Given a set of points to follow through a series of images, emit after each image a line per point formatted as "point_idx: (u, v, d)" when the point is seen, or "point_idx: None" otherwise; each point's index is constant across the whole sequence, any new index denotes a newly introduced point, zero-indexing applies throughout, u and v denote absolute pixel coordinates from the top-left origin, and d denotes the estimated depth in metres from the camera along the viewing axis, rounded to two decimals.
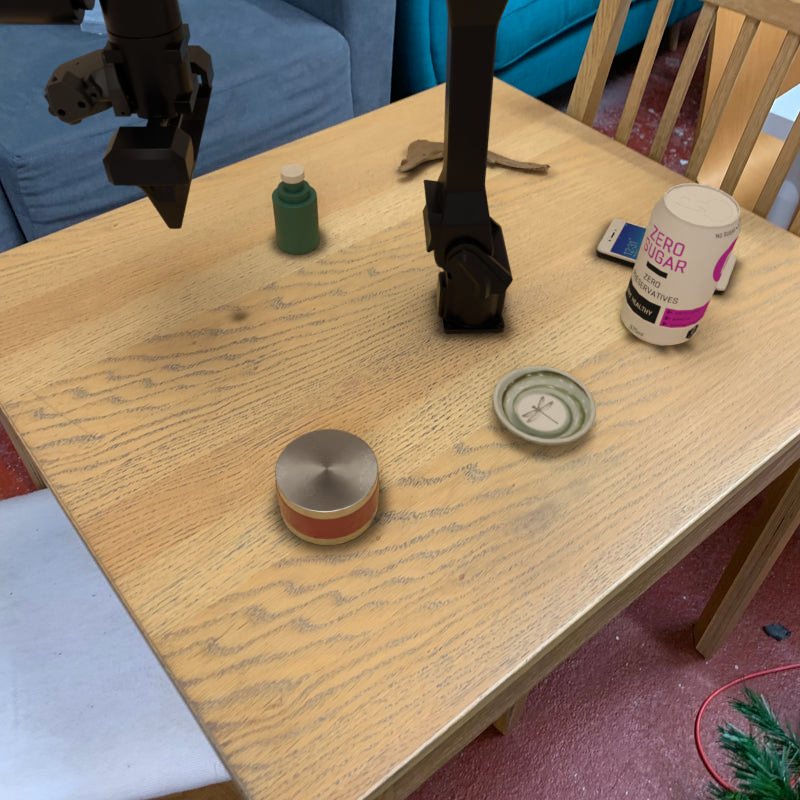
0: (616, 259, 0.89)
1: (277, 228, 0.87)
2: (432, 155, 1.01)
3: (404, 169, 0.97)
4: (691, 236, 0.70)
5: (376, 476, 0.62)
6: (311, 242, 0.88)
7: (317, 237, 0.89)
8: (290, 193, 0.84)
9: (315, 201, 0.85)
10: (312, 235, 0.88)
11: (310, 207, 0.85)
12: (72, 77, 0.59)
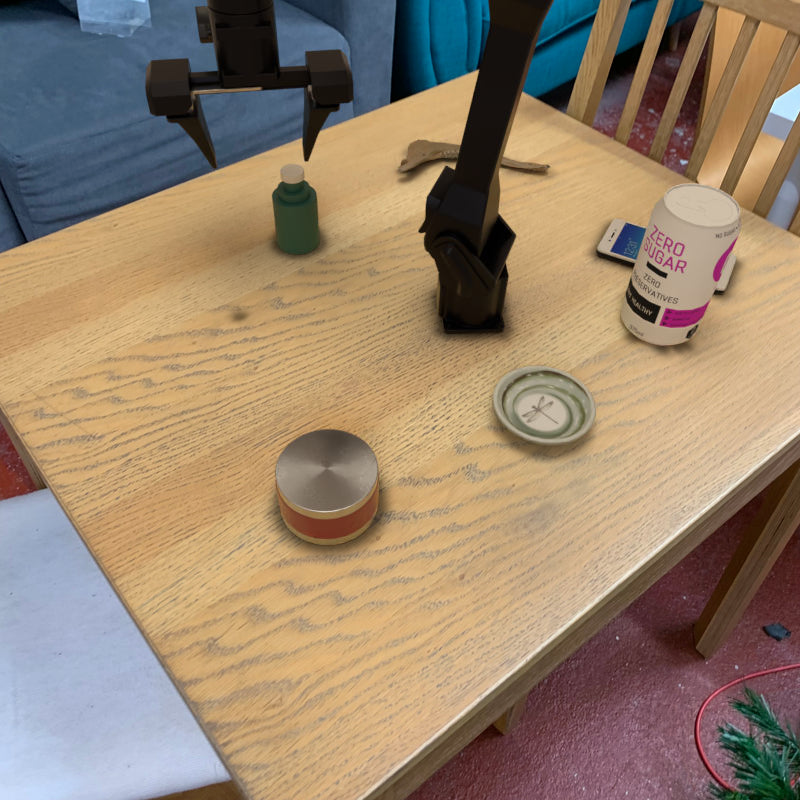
0: (616, 259, 0.89)
1: (277, 228, 0.87)
2: (432, 155, 1.01)
3: (404, 169, 0.97)
4: (691, 236, 0.70)
5: (376, 476, 0.62)
6: (311, 242, 0.88)
7: (317, 237, 0.89)
8: (290, 193, 0.84)
9: (315, 201, 0.85)
10: (312, 235, 0.88)
11: (310, 207, 0.85)
12: None
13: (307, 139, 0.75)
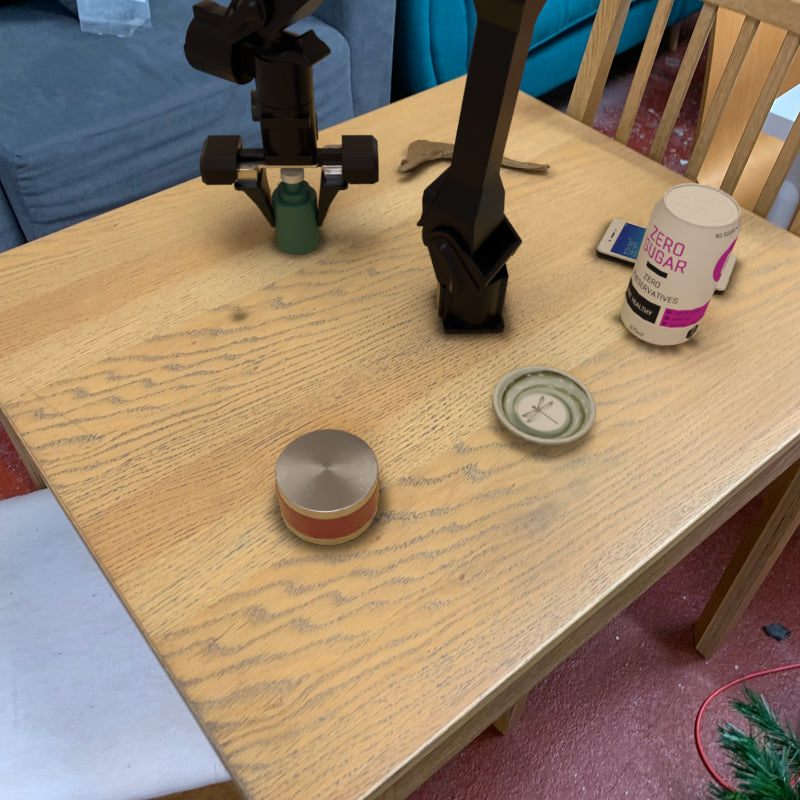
0: (616, 259, 0.89)
1: (277, 228, 0.87)
2: (432, 155, 1.01)
3: (404, 169, 0.97)
4: (691, 236, 0.70)
5: (376, 476, 0.62)
6: (311, 242, 0.88)
7: (317, 237, 0.89)
8: (290, 193, 0.84)
9: (315, 201, 0.85)
10: (312, 235, 0.88)
11: (310, 207, 0.85)
12: None
13: (319, 210, 0.85)
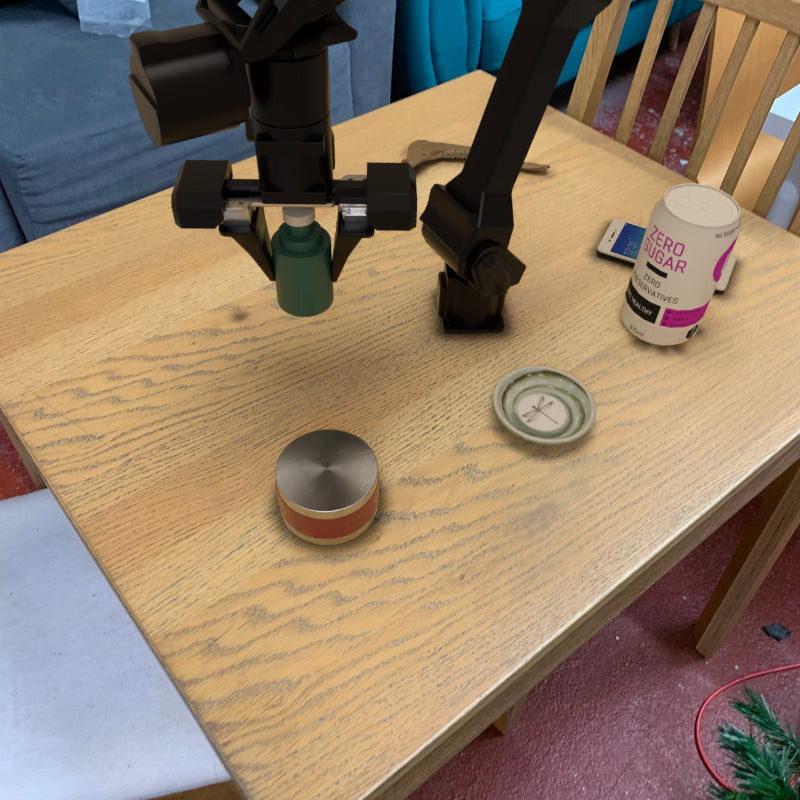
0: (616, 259, 0.89)
1: (277, 283, 0.65)
2: (432, 155, 1.01)
3: None
4: (691, 236, 0.70)
5: (376, 476, 0.62)
6: (322, 301, 0.66)
7: (330, 295, 0.67)
8: (295, 239, 0.62)
9: (329, 249, 0.63)
10: (324, 293, 0.66)
11: (322, 258, 0.63)
12: None
13: (334, 261, 0.63)
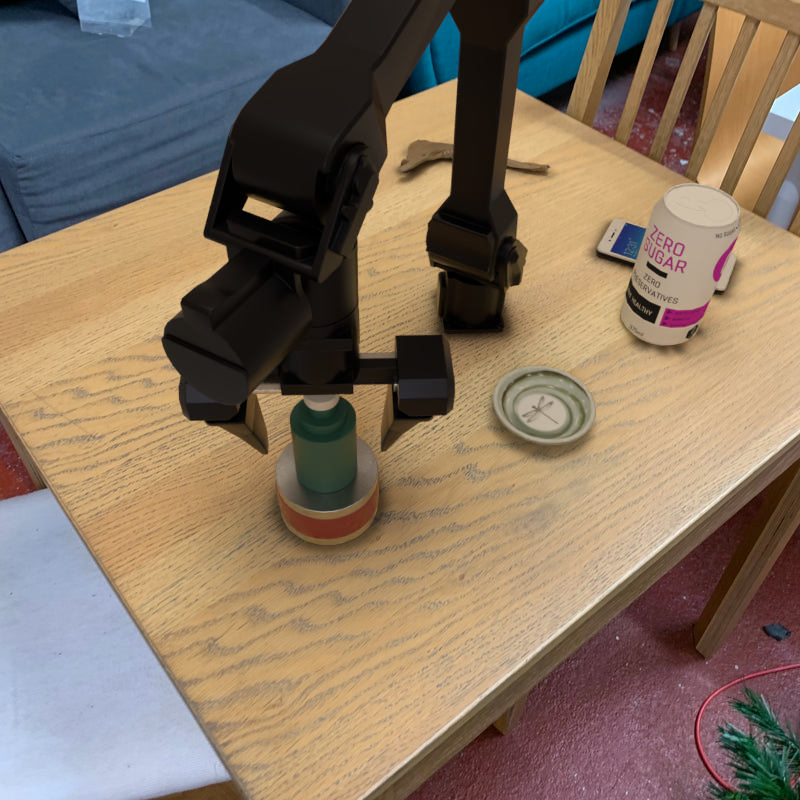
0: (616, 259, 0.89)
1: (297, 460, 0.59)
2: (432, 155, 1.01)
3: (404, 170, 0.97)
4: (691, 236, 0.70)
5: (376, 476, 0.62)
6: (346, 476, 0.60)
7: (355, 467, 0.61)
8: (318, 421, 0.56)
9: (354, 427, 0.57)
10: (348, 469, 0.60)
11: (347, 439, 0.57)
12: None
13: (387, 438, 0.57)
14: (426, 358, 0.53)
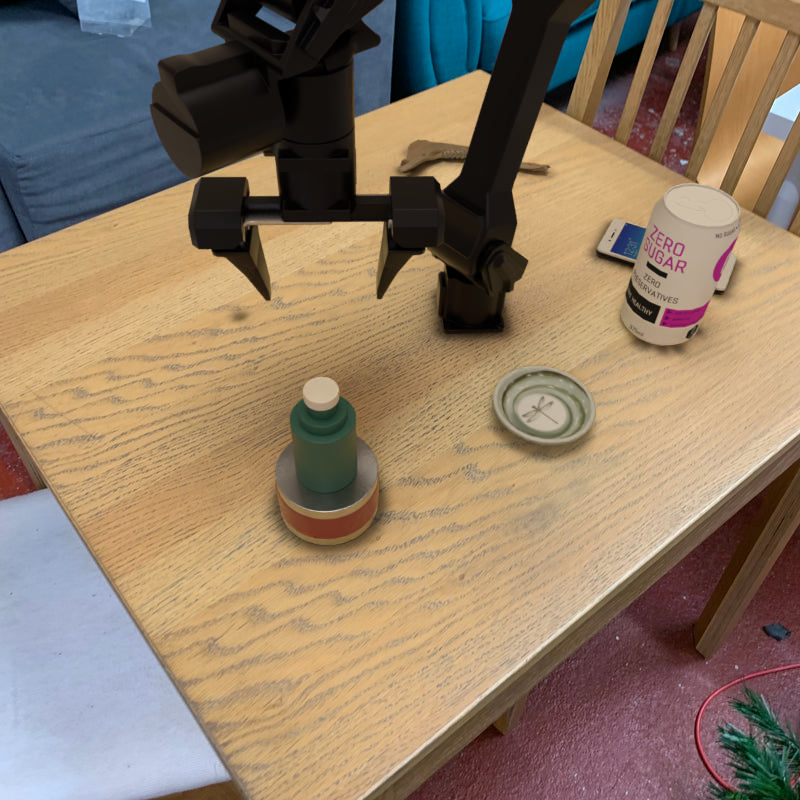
0: (616, 259, 0.89)
1: (297, 460, 0.59)
2: (432, 155, 1.01)
3: (404, 170, 0.97)
4: (691, 236, 0.70)
5: (376, 476, 0.62)
6: (346, 476, 0.60)
7: (355, 467, 0.61)
8: (318, 421, 0.56)
9: (354, 427, 0.57)
10: (348, 469, 0.60)
11: (347, 439, 0.57)
12: None
13: (382, 279, 0.61)
14: (418, 193, 0.57)
